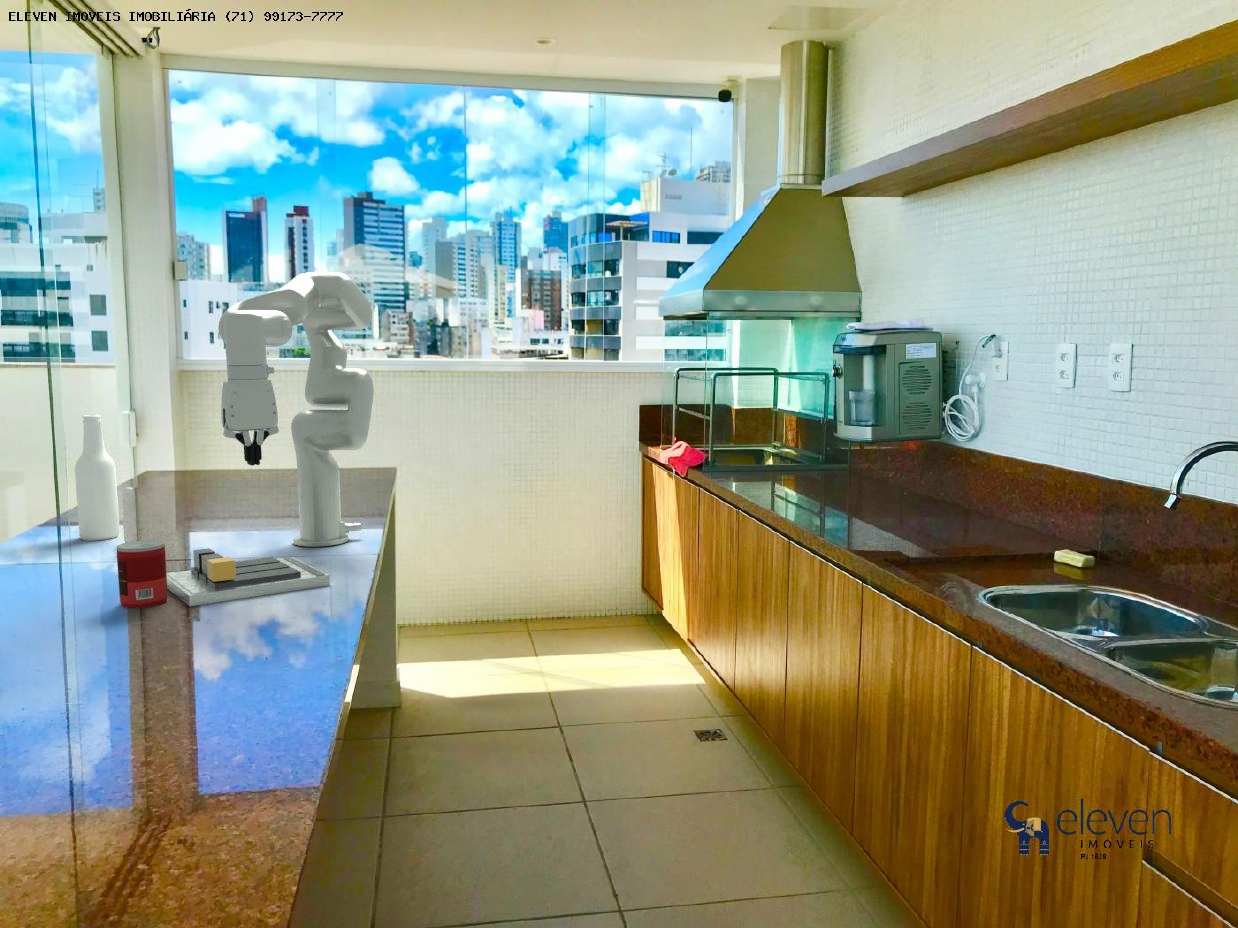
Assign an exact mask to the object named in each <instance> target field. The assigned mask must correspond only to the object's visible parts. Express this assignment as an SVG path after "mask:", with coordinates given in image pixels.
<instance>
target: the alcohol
mask: <svg viewBox="0 0 1238 928" xmlns="http://www.w3.org/2000/svg"><path fill="white" fill-rule="evenodd" d="M82 419H83V420H82V424H83V441H82V442H83V445H82V449H83V450H82V453H81V455H80V456H79V457H78V459H77V460H76V462H75V466H74V475H75V489H76V491H75V492H76V505H77V507H76V508H77V521H78V533H79V534H78V537H80V538H81V539H82V540H83V541H95V542H96V541H104V540H105V541H106V540H111V539H110V538H112V539H114V538H115V537H116V538H117V537H118V536H119V535H120V533H121V530H120V515H119V513H120V512H119V499H118V484H117V470H116V469H117V468H116V464H115V460H114V459H113V458H112V457H111V456H110V454H108V452H107V450H106V446H105V441H104V435H103V428H102V416H101V414H85V415H83V416H82ZM116 538H115V539H116Z"/></svg>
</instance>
